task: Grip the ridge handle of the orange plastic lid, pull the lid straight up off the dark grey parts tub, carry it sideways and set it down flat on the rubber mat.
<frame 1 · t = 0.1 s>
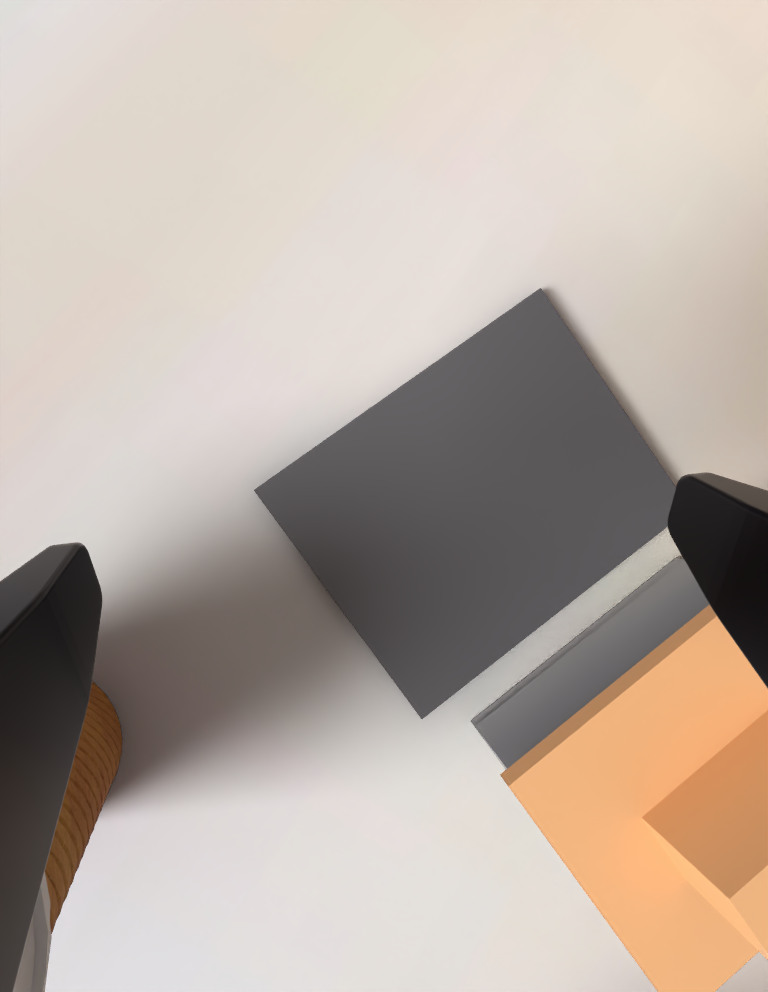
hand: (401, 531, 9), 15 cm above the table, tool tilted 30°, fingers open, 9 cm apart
mat: (478, 499, 25), on the table
lid: (701, 766, 21), point 4 cm above the table, touching tub
tub: (636, 723, 25), on the table
disposable coffee cup: (35, 744, 23), on the table
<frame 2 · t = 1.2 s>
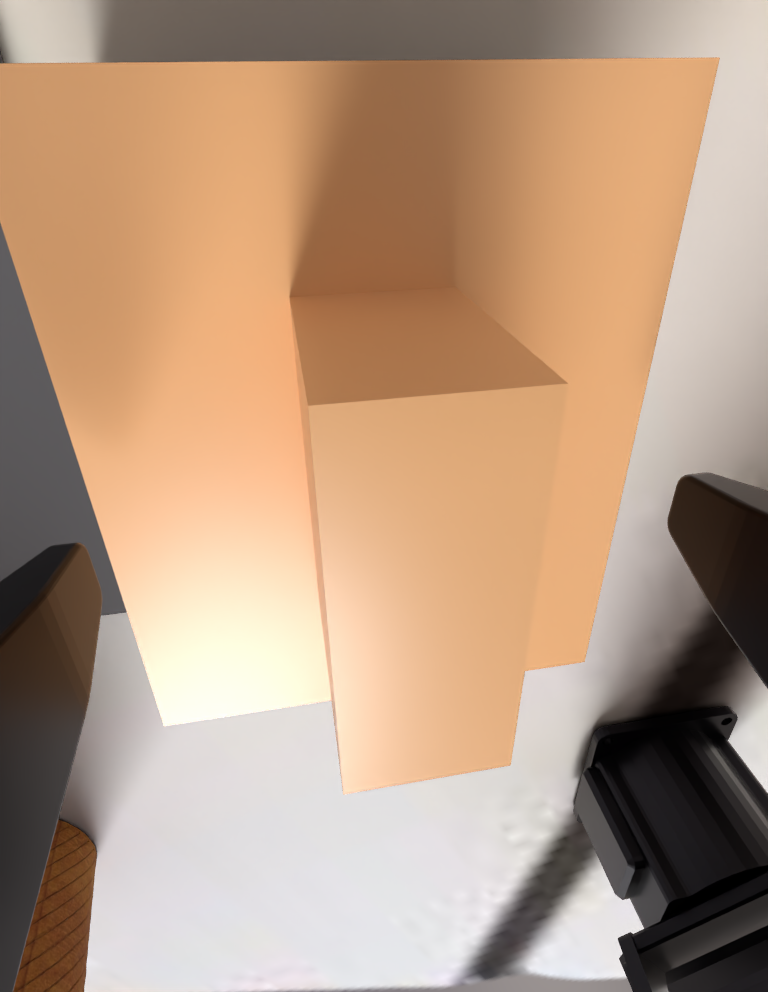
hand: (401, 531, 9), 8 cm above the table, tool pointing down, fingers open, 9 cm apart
lid: (365, 429, 12), point 4 cm above the table, touching tub
disposable coffee cup: (11, 852, 24), on the table
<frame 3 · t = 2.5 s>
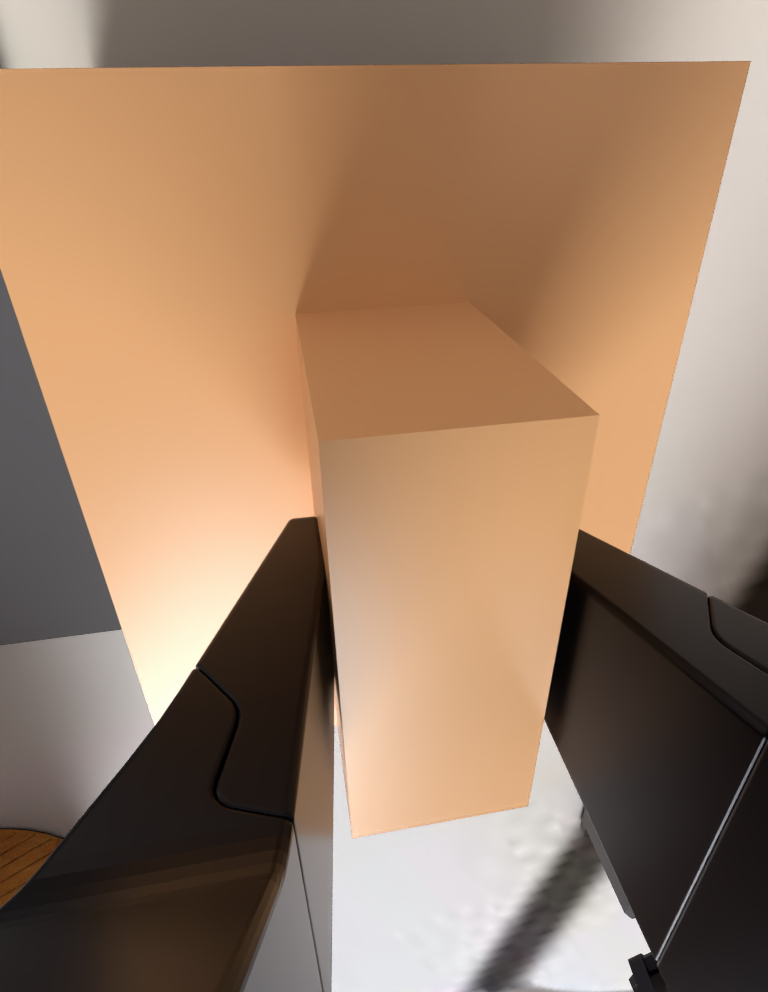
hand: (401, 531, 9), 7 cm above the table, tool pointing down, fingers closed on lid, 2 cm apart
lid: (372, 446, 12), point 4 cm above the table, touching gripper, tub
disposable coffee cup: (9, 869, 23), on the table
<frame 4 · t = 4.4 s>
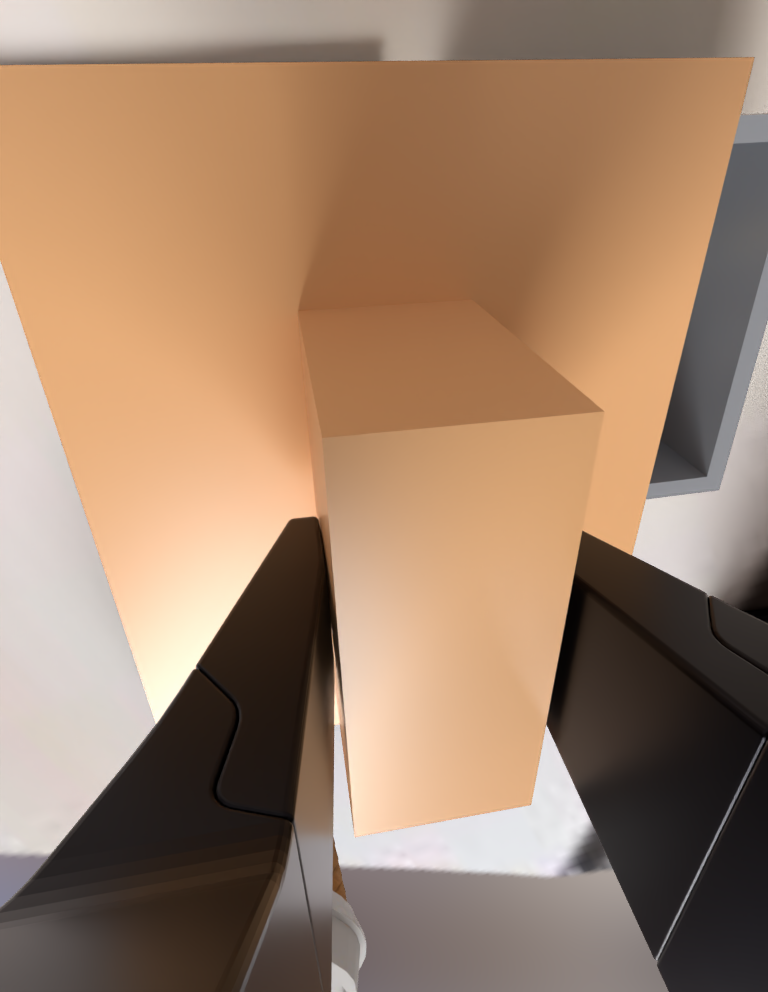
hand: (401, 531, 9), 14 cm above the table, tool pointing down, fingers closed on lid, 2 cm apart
lid: (374, 444, 11), point 11 cm above the table, touching gripper
tub: (553, 302, 22), on the table
disposable coffee cup: (242, 713, 30), on the table
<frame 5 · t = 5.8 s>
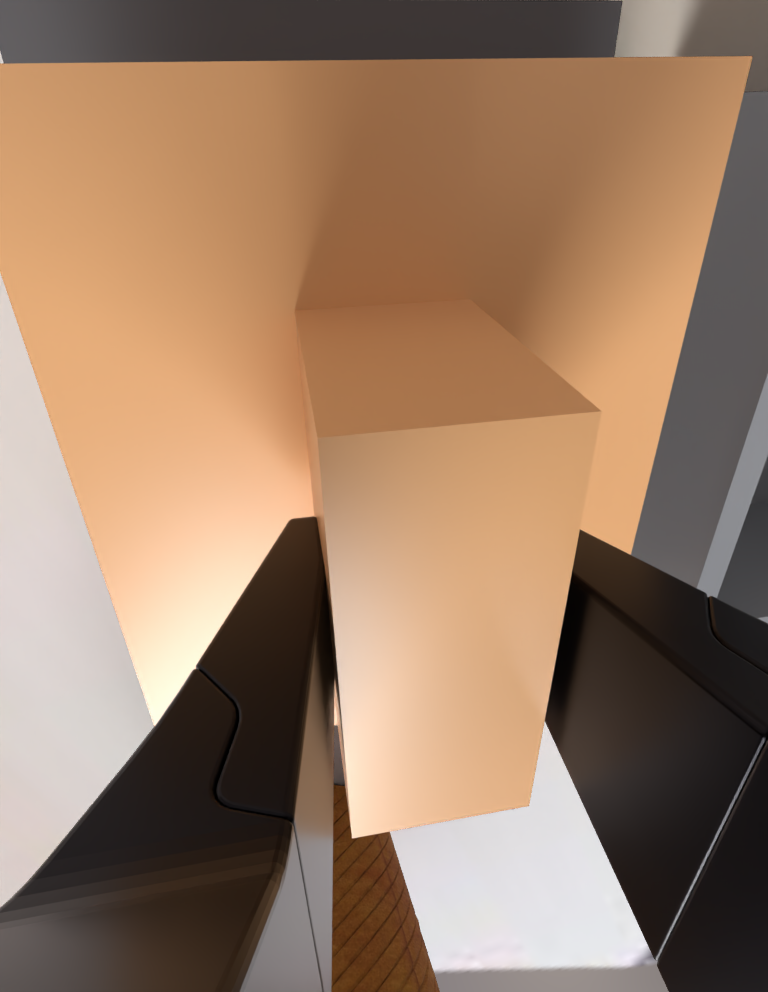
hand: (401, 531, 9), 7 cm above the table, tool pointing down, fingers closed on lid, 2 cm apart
mat: (344, 374, 15), on the table
lid: (372, 444, 11), point 4 cm above the table, touching gripper
disposable coffee cup: (307, 826, 25), on the table
when the fingers open (5 cm above the table, at t = 6.7 s): lid drops 2 cm, resting on mat.
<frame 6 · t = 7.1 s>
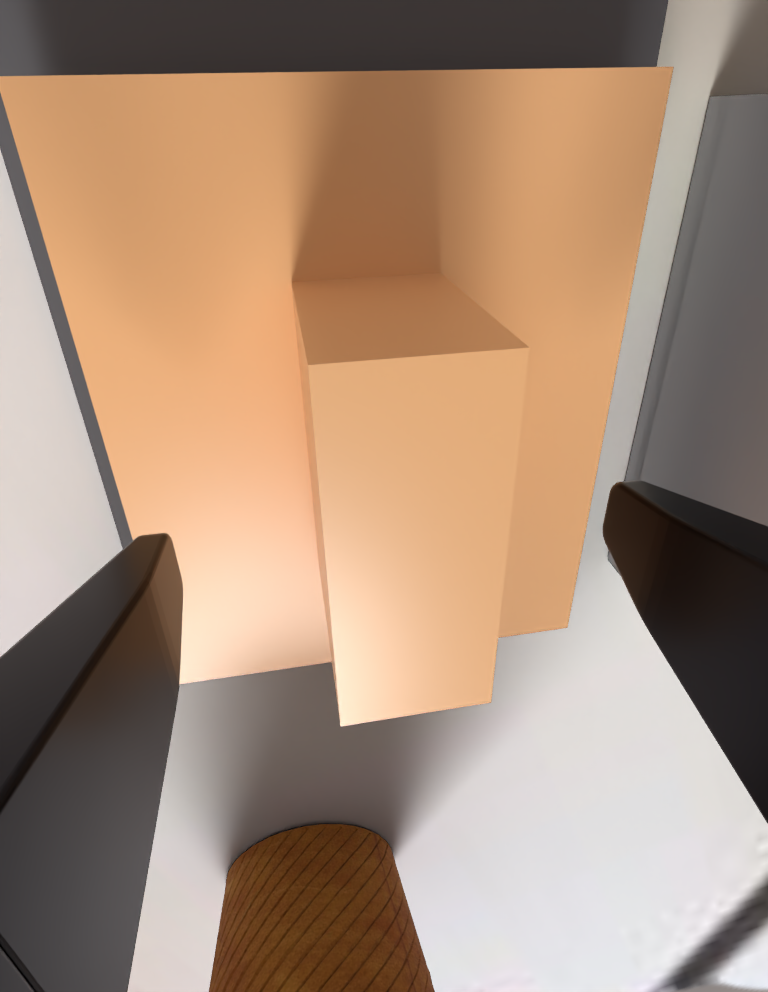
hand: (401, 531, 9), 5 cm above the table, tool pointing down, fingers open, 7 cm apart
mat: (354, 400, 13), on the table
lid: (361, 407, 13), resting on mat
disposable coffee cup: (311, 865, 23), on the table
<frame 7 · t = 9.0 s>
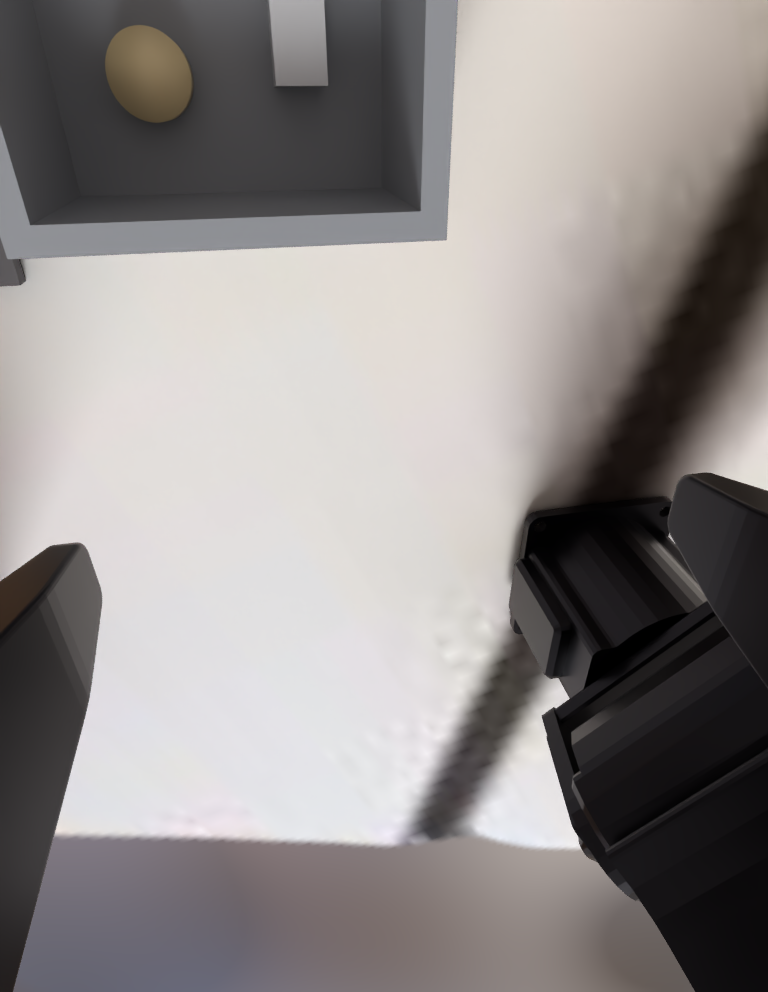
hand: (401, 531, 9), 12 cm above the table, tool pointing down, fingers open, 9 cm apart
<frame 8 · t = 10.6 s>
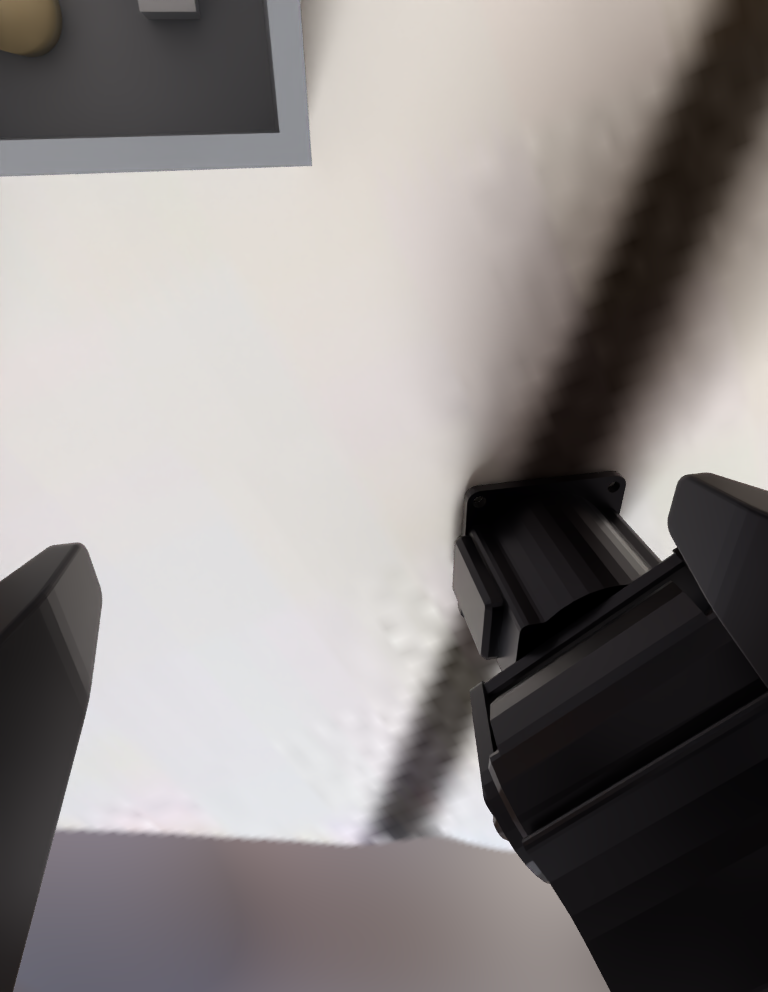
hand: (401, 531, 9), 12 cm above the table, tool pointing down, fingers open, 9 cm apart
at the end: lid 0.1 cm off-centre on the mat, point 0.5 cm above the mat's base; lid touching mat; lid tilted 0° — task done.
